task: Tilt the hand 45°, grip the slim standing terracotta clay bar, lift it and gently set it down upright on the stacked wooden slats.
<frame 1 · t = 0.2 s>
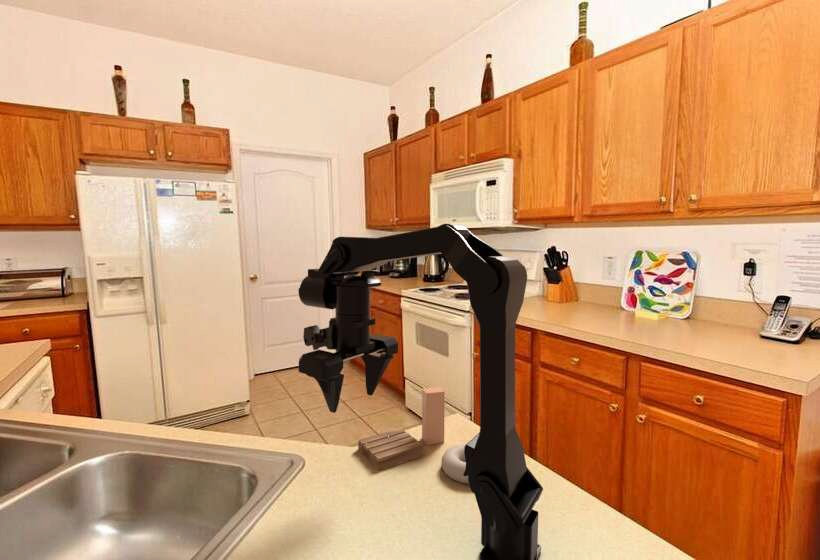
hand: (352, 402, 68), 15 cm above the countertop, tool pointing down, fingers open, 9 cm apart
stacked wooden slats: (390, 452, 80), on the countertop
clay bar: (432, 440, 85), on the countertop
donut: (468, 472, 74), on the countertop
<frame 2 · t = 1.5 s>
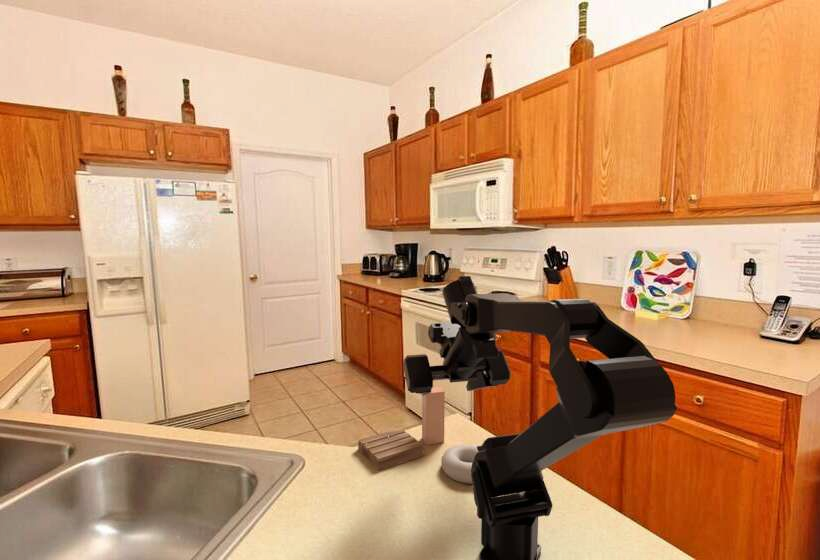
hand: (445, 390, 77), 13 cm above the countertop, tool tilted 45°, fingers open, 9 cm apart
nothing on the countertop moved.
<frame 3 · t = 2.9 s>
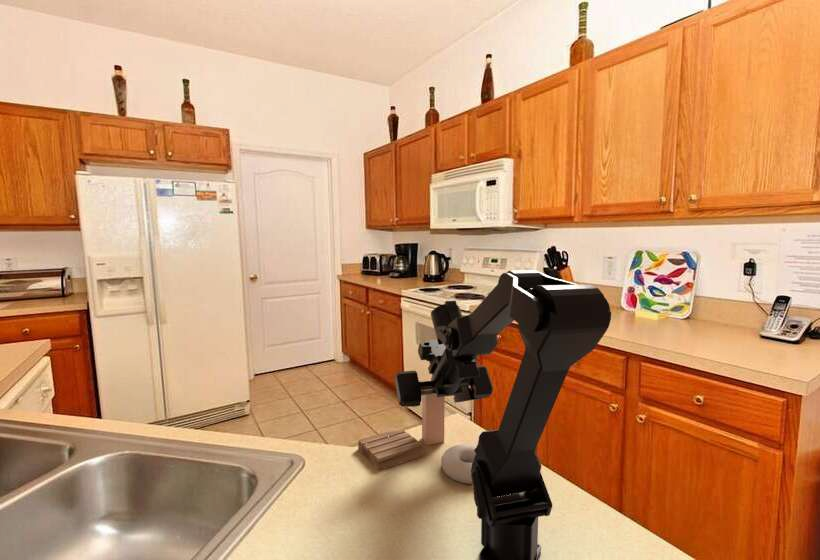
hand: (434, 402, 84), 9 cm above the countertop, tool tilted 45°, fingers open, 9 cm apart
nothing on the countertop moved.
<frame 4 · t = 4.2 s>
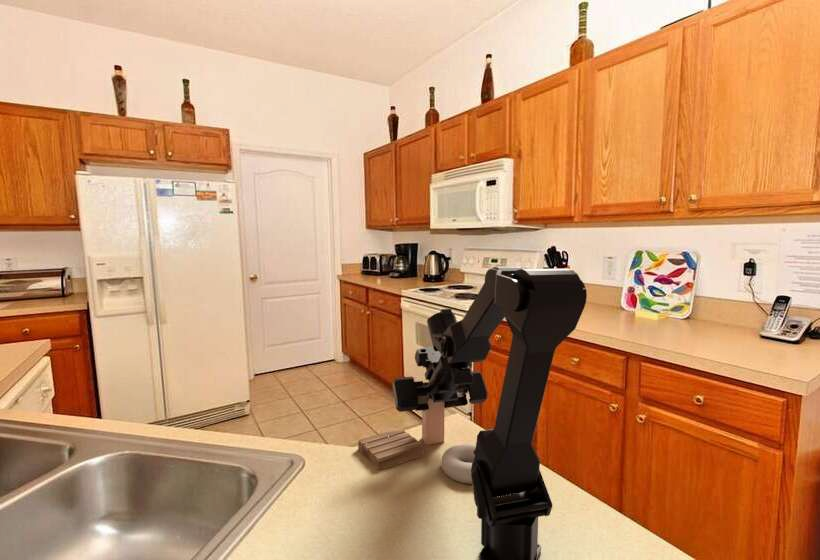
hand: (431, 407, 86), 7 cm above the countertop, tool tilted 45°, fingers closed on clay bar, 4 cm apart
clay bar: (432, 440, 85), on the countertop, touching gripper
everything else where it was.
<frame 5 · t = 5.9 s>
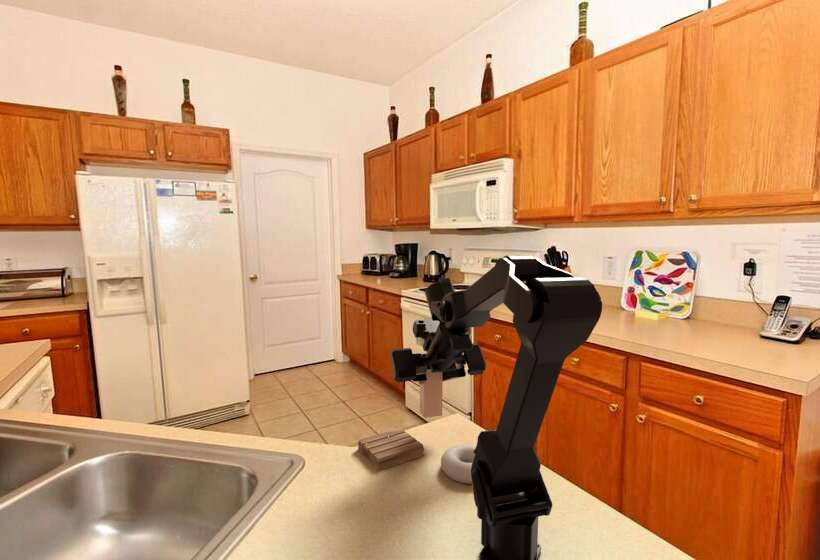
hand: (428, 381, 85), 12 cm above the countertop, tool tilted 45°, fingers closed on clay bar, 4 cm apart
clay bar: (430, 413, 84), point 6 cm above the countertop, touching gripper
everything else where it was.
when the fingers open (10 cm above the countertop, at t = 7.8 s): clay bar stays where it is, resting on stacked wooden slats.
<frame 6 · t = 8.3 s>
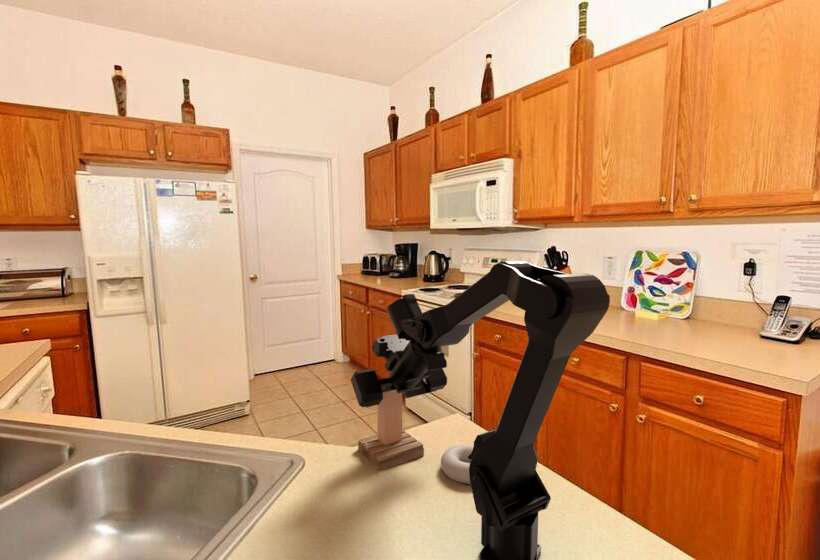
hand: (386, 400, 82), 10 cm above the countertop, tool tilted 45°, fingers open, 9 cm apart
clay bar: (389, 439, 81), point 2 cm above the countertop, touching stacked wooden slats
everything else where it was.
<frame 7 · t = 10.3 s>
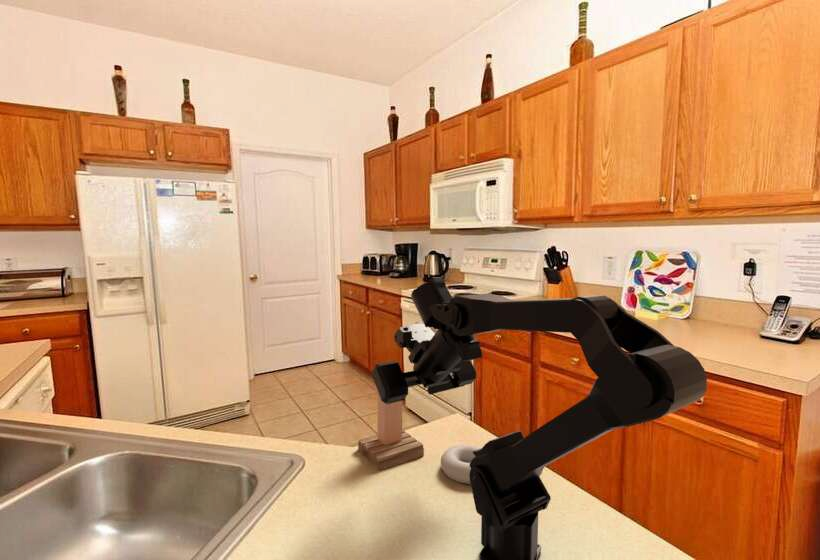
hand: (408, 396, 74), 13 cm above the countertop, tool tilted 45°, fingers open, 9 cm apart
nothing on the countertop moved.
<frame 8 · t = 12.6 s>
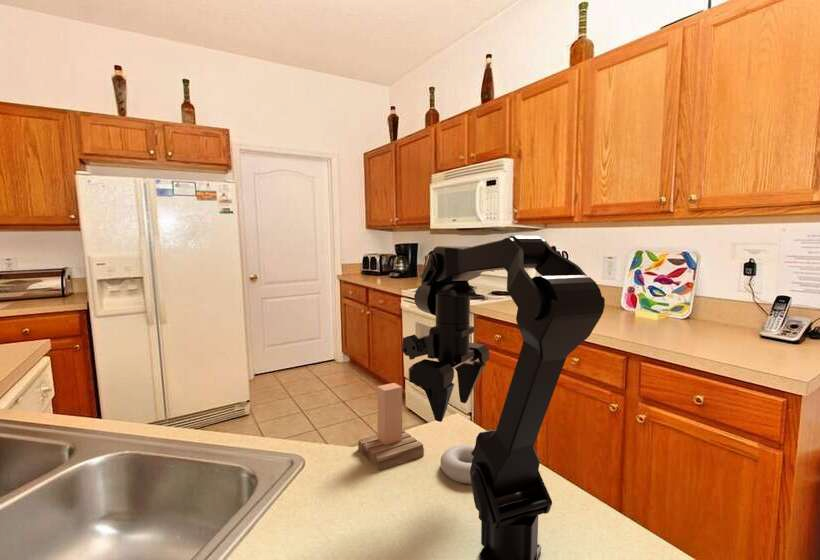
hand: (451, 411, 68), 13 cm above the countertop, tool pointing down, fingers open, 9 cm apart
nothing on the countertop moved.
at the end: clay bar inside the target area on the stacked wooden slats (0.8 cm from its centre), point 2.1 cm above the stacked wooden slats's base; clay bar tilted 0°; the gripper is holding nothing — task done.
